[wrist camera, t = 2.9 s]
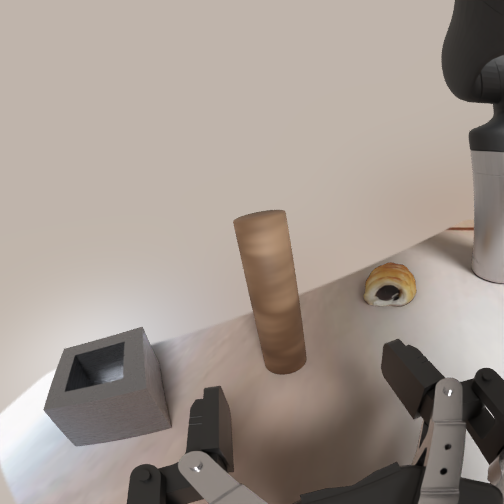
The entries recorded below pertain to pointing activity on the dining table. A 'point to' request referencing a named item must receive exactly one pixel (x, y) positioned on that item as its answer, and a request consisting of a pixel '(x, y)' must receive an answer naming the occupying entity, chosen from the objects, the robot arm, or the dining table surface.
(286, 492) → the dining table surface
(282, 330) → the peg
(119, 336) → the socket block
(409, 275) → the pastry
